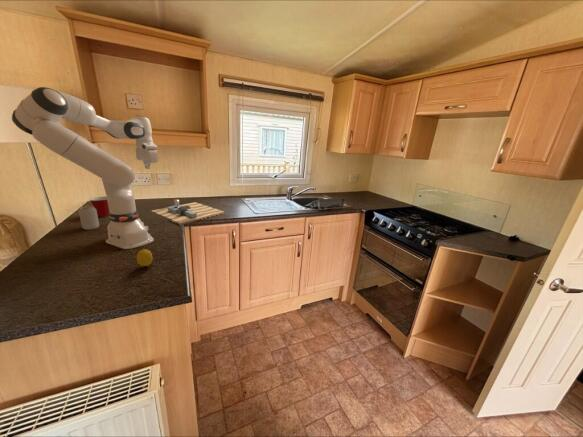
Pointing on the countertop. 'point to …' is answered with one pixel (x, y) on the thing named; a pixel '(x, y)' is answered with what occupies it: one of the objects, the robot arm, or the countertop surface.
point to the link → (186, 212)
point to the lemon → (144, 257)
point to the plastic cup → (101, 206)
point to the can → (88, 217)
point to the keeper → (183, 209)
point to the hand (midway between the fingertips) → (147, 168)
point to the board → (194, 207)
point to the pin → (176, 203)
